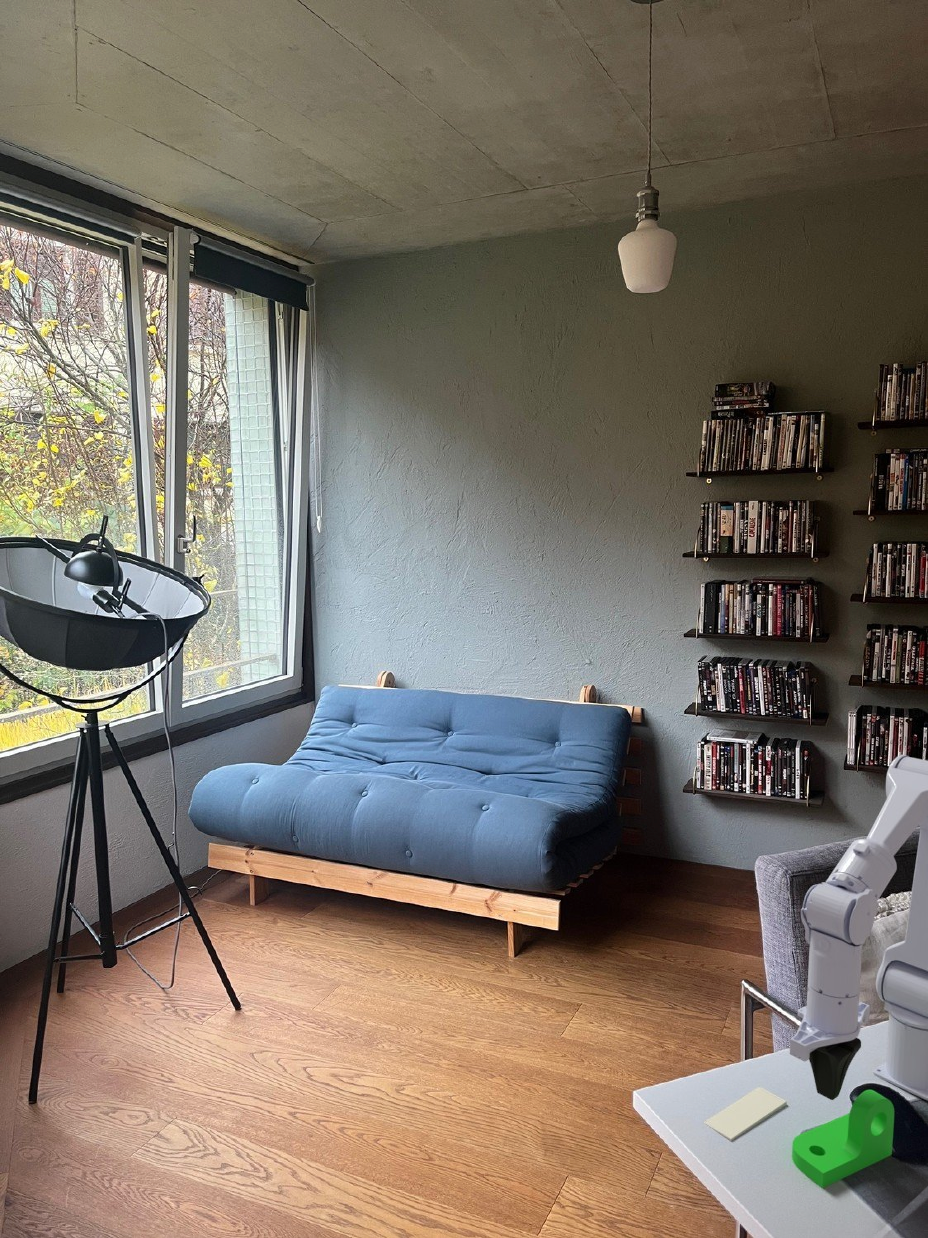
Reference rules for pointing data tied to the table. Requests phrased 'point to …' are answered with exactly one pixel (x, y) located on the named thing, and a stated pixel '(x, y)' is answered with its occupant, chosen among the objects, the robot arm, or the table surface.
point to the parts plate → (745, 1113)
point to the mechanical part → (847, 1141)
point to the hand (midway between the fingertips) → (827, 1094)
